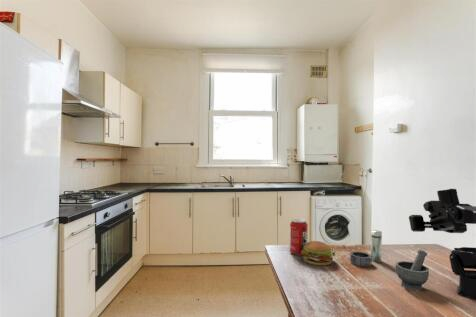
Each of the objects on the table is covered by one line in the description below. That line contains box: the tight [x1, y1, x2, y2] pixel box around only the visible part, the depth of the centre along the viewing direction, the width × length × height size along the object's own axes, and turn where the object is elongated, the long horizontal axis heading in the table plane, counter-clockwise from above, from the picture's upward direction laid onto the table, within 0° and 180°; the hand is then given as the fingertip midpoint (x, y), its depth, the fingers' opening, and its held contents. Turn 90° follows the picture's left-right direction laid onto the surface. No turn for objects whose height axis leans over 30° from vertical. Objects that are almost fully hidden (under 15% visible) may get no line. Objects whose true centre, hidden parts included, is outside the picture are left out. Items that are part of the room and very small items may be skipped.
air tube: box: [370, 229, 383, 263], centre depth 118 cm, size 4×4×12 cm
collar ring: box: [349, 250, 373, 268], centre depth 114 cm, size 8×8×4 cm
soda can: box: [289, 218, 309, 256], centre depth 125 cm, size 8×8×15 cm
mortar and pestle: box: [395, 249, 430, 292], centre depth 94 cm, size 11×9×12 cm
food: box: [301, 240, 336, 267], centre depth 116 cm, size 14×14×8 cm
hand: (424, 227), depth 114 cm, fingers open, 9 cm apart
